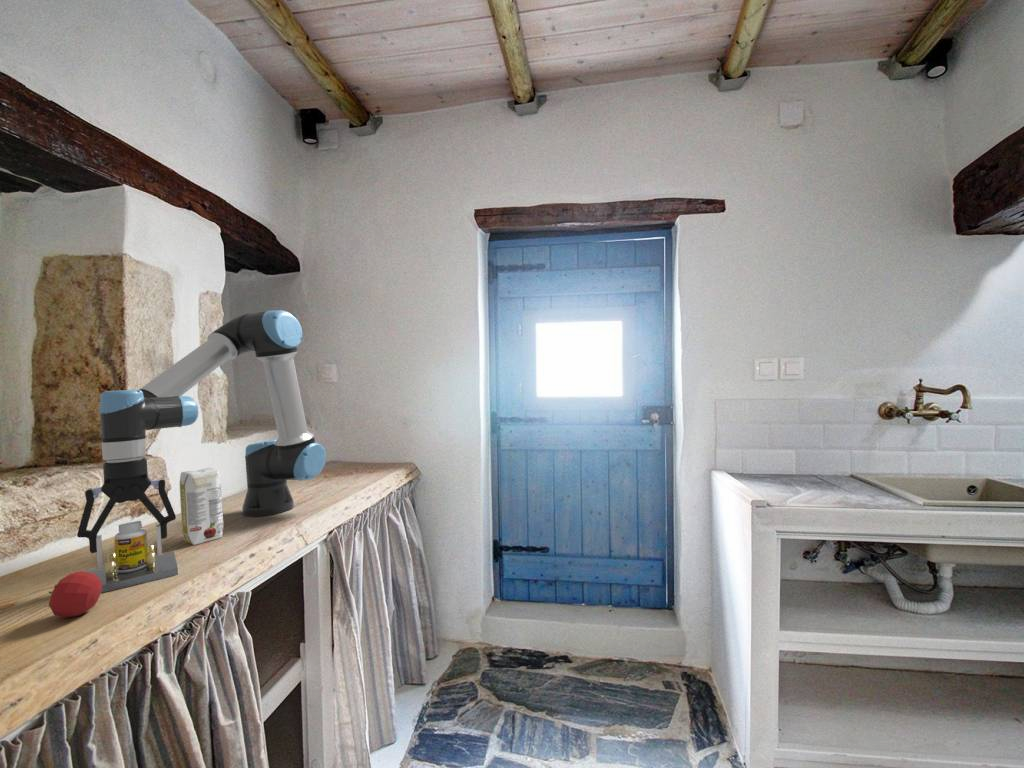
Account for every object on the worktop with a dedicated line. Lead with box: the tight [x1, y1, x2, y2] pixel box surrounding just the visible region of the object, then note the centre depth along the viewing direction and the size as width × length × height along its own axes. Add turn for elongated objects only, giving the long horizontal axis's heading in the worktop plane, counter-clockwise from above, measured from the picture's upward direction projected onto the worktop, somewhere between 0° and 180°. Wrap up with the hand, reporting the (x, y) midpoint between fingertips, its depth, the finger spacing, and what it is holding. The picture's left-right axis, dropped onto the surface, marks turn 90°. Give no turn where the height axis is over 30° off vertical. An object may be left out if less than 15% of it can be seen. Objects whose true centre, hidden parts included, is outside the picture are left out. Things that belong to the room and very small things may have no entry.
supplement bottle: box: [114, 520, 148, 573], centre depth 104 cm, size 6×6×10 cm
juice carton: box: [178, 467, 224, 546], centre depth 127 cm, size 8×9×19 cm
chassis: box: [85, 544, 179, 594], centre depth 104 cm, size 16×14×5 cm
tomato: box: [48, 570, 102, 619], centre depth 87 cm, size 8×8×8 cm
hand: (131, 559), depth 104 cm, fingers open, 9 cm apart
